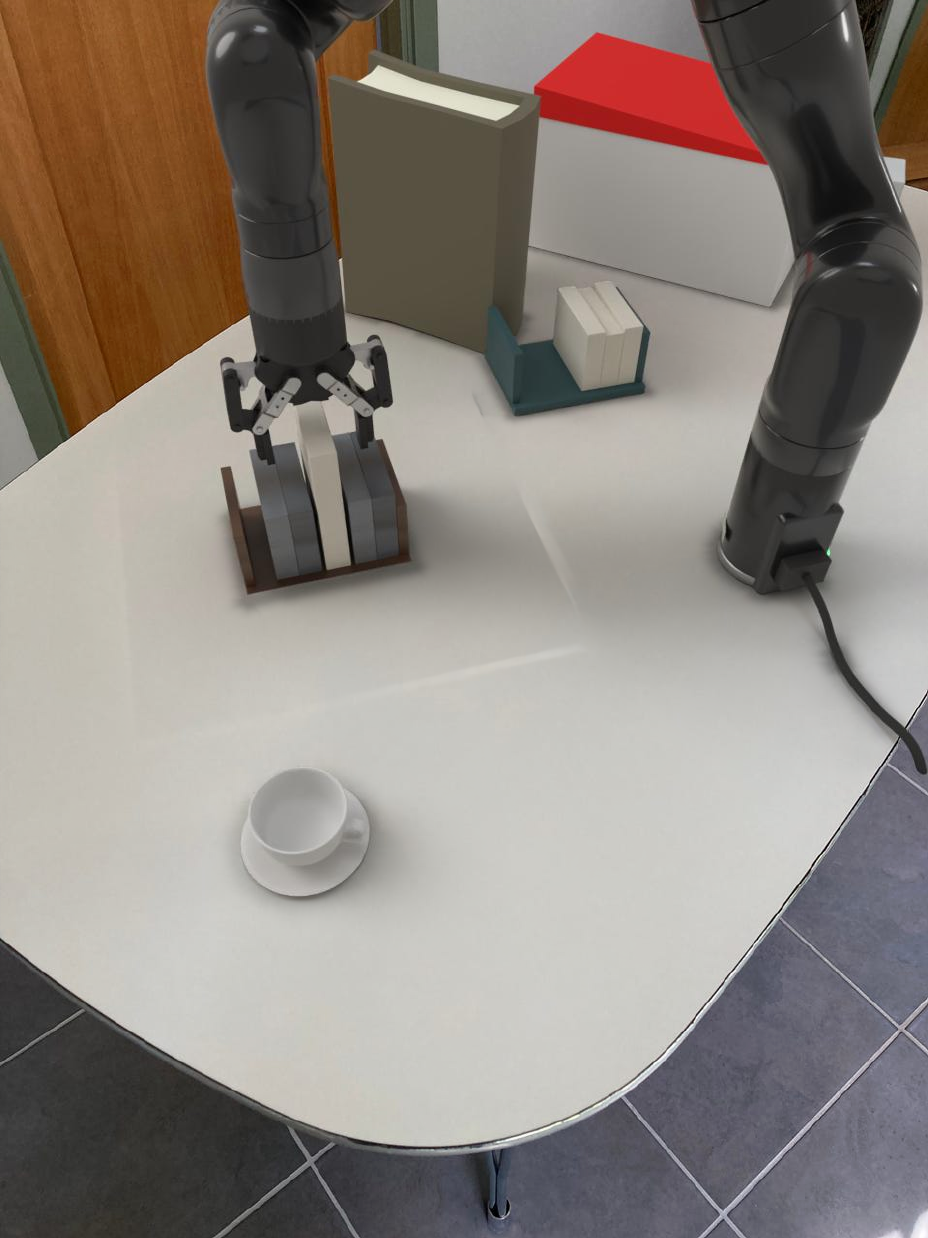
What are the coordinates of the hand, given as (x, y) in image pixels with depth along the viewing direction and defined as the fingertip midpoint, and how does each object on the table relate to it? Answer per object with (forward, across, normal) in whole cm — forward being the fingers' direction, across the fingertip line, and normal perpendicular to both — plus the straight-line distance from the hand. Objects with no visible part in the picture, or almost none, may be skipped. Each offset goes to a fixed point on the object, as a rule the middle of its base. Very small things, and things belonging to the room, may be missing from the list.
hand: (317, 451), depth 87 cm
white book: (+10, 0, 0) cm, 10 cm away
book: (+12, +21, +36) cm, 43 cm away
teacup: (+12, -8, -32) cm, 35 cm away
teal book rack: (+11, +32, +20) cm, 39 cm away
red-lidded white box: (+12, +57, +46) cm, 74 cm away
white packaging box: (+11, +79, +35) cm, 87 cm away
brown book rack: (+11, -1, 0) cm, 11 cm away
